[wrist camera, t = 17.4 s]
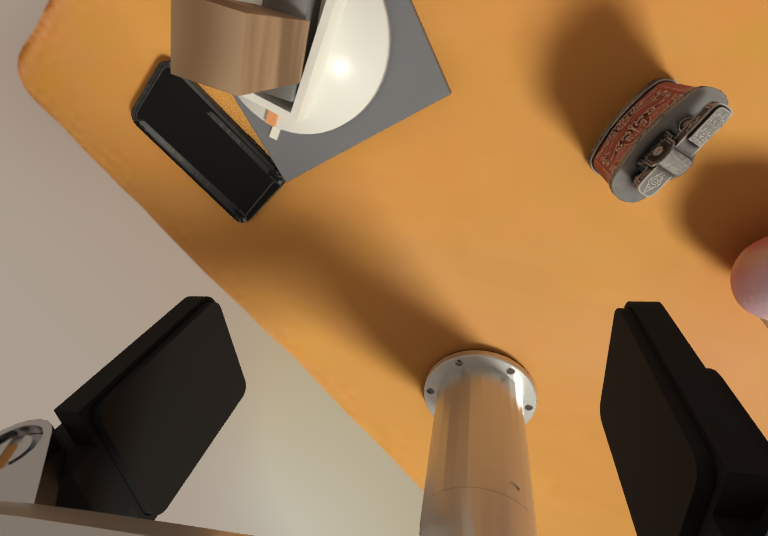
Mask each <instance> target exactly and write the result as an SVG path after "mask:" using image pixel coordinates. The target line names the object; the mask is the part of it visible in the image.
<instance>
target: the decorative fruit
mask: <svg viewBox="0 0 768 536" xmlns="http://www.w3.org/2000/svg"><path fill="white" fill-rule="evenodd" d="M730 281H731V289H732V292H733V295H734V297H735V299H736V300H737V302H738V303H739V304H740V305H741V307H742V308H743V309H745V310H746V311H747V312H749V313H751V314H753V315H755V316H757V317H759V318H760V319H761V320H762V321H763V322H764V324H765V325H766V326H767V328H768V236H767V237H764V238H762V239H760V240H758V241H756V242H754V243H752V244H751V245H749V246H748V247H747V248H745V249H744V250H743V251H742V252H741V254H740V255H739V256H738V258H737V259H736V261H735V262H734V265H733V268H732V271H731V280H730Z"/></svg>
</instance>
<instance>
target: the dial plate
mask: <svg viewBox="0 0 768 536" xmlns="http://www.w3.org/2000/svg"><path fill="white" fill-rule="evenodd" d="M385 1H386V4H387V8H388V12H389V16H390V23H391V39H392V44H391V54H390V60H389V65H388V69H387V72H386V75H385V78H384V81H383V83H382V85H381V87H380V89H379V91H378V93H377V94H376V96H375V97H374V99H373V100H372V101H371V103H370V104H369V105H368V106H367V107H366V108H365V109H364V110H363V111H362V112H361V113H360V114H359V115H357V116H356V117H355V118H353V119H352V120H350V121H348V122H347V123H345V124H343V125H342V126H339V127H337V128H335V129H333V130H330V131H326V132H323V133H316V134H298V133H292V132H288V131H285V130H281V129H279V128H277V127H273V126H271V125H269V124H267V123H265V121H264V120H262V119H261V118H259V117H258V116H257V115H255V114H254V113H253V112H252V111H251V110H250V109H249V108H248V107H247V106H246V105H245V104H244V103H243V102H242V101H241V100H240V99H239V97H238V96H236V95H233V94H232V95H233V96H234V98H235V100H236V101H237V103H238V105H239V106H240V108H241V109H242V111H243V113H244V114H245V116H246V118H247V119H248V121H249V123H250V124H251V126H252V127H253V129H254V131H255V132H256V134H257V136H258V137H259V139H260V140H261V142H262V144H263V145H264V147H265V149H266V150H267V152H268V154H269V155H270V157H271V158H272V160H273V162H274V163H275V165H276V167H277V168H278V170H279V172H280V173H281V175H282V176H283V178H284V180H285V181H286V182H288V181H290V180H291V179H293V178H295V177H297V176H299V175H301V174H303V173H304V172H306V171H308V170H310V169H312V168H314V167H316V166H317V165H319V164H321V163H323V162H325V161H327V160H329V159H330V158H332V157H334V156H336V155H338V154H340V153H342V152H344V151H345V150H347V149H349V148H351V147H353V146H355V145H357V144H358V143H360V142H362V141H364V140H366V139H368V138H370V137H371V136H373V135H375V134H377V133H379V132H381V131H383V130H384V129H386V128H388V127H390V126H392V125H394V124H396V123H398V122H399V121H401V120H403V119H405V118H407V117H409V116H411V115H412V114H414V113H416V112H418V111H420V110H422V109H424V108H425V107H427V106H429V105H431V104H433V103H435V102H437V101H438V100H440V99H442V98H444V97H446V96H448V95H450V94H451V90H450V88H449V85H448V83H447V81H446V79H445V76H444V74H443V72H442V69H441V67H440V65H439V62H438V60H437V58H436V55H435V53H434V51H433V49H432V46H431V44H430V42H429V39H428V37H427V35H426V32H425V30H424V28H423V25H422V23H421V21H420V19H419V16H418V14H417V12H416V9H415V7H414V5H413V2H412V0H385Z"/></svg>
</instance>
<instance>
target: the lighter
mask: <svg viewBox="0 0 768 536" xmlns="http://www.w3.org/2000/svg"><path fill="white" fill-rule="evenodd" d="M732 113H733V112H732V109H731V108H730V107H729V106H728V100H727V97H726V95H725V94H724V93H723V92H722V91H721V90H718V89H716V88H713V87H707V86H699V87H692V86H687V85H682V84H679V83H678V82H676V81H674V80H671V79H664V78H660V79H656V80H653V81H652V82H650V83H649V84H648V85H646V86H645V87H644V88H643V89H642V90H641V91H640V92H639V93H637V94H636V95H635V96H634V97H633V98H632V99H631V100H630V101H629V102H628V103H627V104H626V105H625V106H624V107H623V108H622V109H621V110H620V111H619V112H618V114H617V115H616V116H615V117H614V118H613V119H612V121H611V122H610V123H609V125H608V126H607V127H606V129H605V130H604V131H603V133H602V134H601V136H600V137H599V139H598V141H597V142H596V144H595V146H594V147H593V149H592V151H591V153H590V155H589V158H588V161H589V165H590V167H591V168H592V170H593V171H594V172H596V173H597V174H599V175H601V176H602V177H603V178H604V179H605V181H606V182H607V183H608V184H609V187H610V189H611V191H612V193H613V194H614V195H615V196H616V197H617V198H618V199H620V200H622V201H624V202H631V203H633V202H638V201H641V200H642V199H644V198H646V197H651V196H653V195H654V194H656V193H657V192H658V191H659V190H660V189H661V188H662V187H663V186H664V185H665V184H666V183H667V182H668V181H669V180H672V179H674V178H676V177H679V176H681V175H682V174H684V173H685V172H686V171H687V170H688V169H689V168H690V167H691V165H692V164H693V159H694V157H695V154H696V153H697V152H698V150H699V149H700V148H701V147H702V146H703V145H704V144H705V143H706V142H707V141H708V140H709V139H710V138H711V137H712V136H713V135H714V134H715V133H716V132H717V131H718V130H719V129H720V128H721V127H722V126H723V125H724V124H725V123H726V122H727V121H728V120H729V118H730V117H731V116H732Z"/></svg>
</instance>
